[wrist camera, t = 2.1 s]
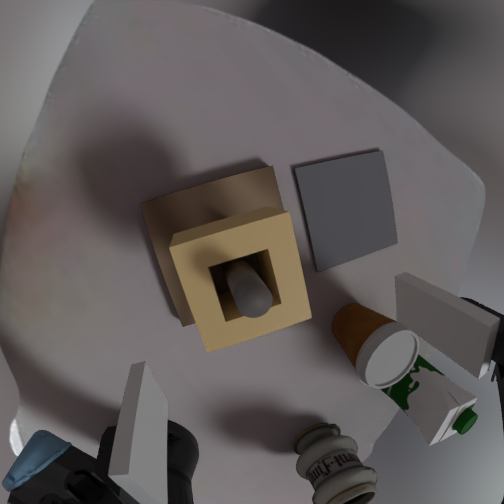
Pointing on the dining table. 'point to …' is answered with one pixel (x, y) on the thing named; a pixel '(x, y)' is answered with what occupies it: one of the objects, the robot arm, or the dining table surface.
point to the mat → (347, 208)
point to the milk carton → (433, 402)
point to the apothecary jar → (334, 467)
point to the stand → (206, 211)
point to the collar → (231, 247)
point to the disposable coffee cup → (375, 345)
